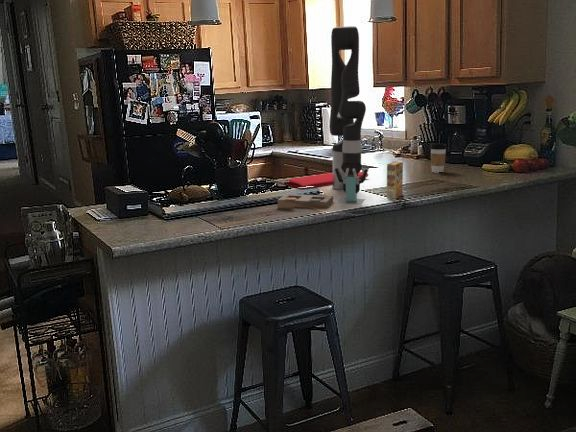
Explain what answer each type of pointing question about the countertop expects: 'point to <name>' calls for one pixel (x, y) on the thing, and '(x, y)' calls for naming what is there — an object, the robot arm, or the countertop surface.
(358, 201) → the deck
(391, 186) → the candy box
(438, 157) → the coffee cup
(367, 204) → the countertop surface
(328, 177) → the dish drying mat
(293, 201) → the socket block
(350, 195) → the plug
